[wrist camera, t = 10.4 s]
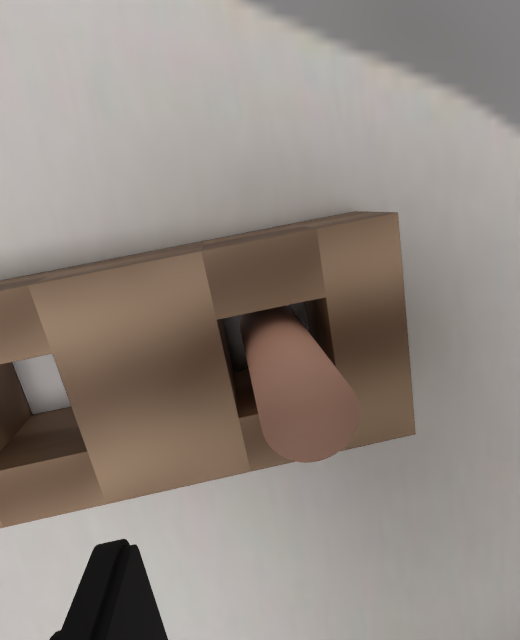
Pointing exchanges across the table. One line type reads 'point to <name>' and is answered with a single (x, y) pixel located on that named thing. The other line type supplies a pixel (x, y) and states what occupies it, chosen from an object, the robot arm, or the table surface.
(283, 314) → the peg
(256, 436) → the hole block
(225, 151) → the table surface
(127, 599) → the robot arm
